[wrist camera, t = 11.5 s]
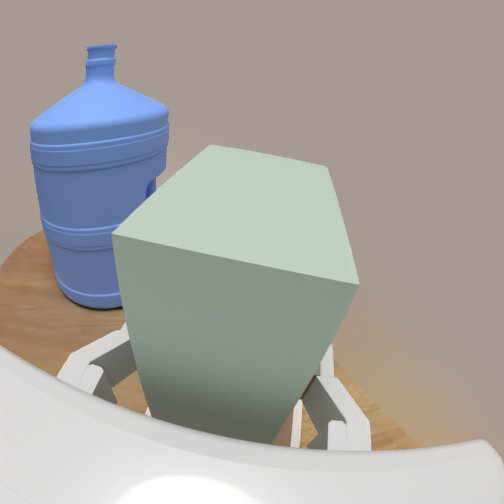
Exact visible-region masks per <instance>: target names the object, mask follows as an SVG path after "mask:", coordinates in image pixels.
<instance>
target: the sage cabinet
mask: <svg viewBox="0 0 504 504" xmlns="http://www.w3.org/2000/svg"><path fill="white" fill-rule="evenodd" d="M111 234H112V242H113V250H114V258H115V265H116V271H117V278H118V284H119V289H120V295H121V300H122V306H123V311H124V316H125V320H126V325H127V330H128V334H129V338H130V343H131V347H132V351H133V355H134V359H135V363H136V366H137V370H138V374H139V377H140V381H141V384H142V388H143V391H144V394H145V398H146V401H147V404H148V407H149V410H150V413H151V416H152V417H153V418H156V419H159V420H163V421H166V422H169V423H173V424H176V425H180V426H183V427H187V428H191V429H195V430H198V431H203V432H207V433H211V434H215V435H220V436H225V437H230V438H235V439H240V440H245V441H251V442H257V443H264V444H271V442H272V441H273V439H274V438H275V436H276V435H277V433H278V432H279V430H280V429H281V427H282V426H283V424H284V423H285V421H286V420H287V418H288V417H289V415H290V413H291V412H292V410H293V409H294V407H295V405H296V404H297V402H298V400H299V399H300V397H301V395H302V394H303V392H304V390H305V389H306V387H307V385H308V384H309V382H310V380H311V378H312V377H313V375H314V373H315V371H316V370H317V368H318V366H319V364H320V363H321V361H322V359H323V357H324V355H325V353H326V352H327V350H328V348H329V346H330V344H331V342H332V340H333V338H334V336H335V334H336V332H337V331H338V328H339V327H340V325H341V323H342V321H343V319H344V316H345V315H346V313H347V310H348V308H349V306H350V304H351V302H352V300H353V298H354V296H355V294H356V291H357V289H358V287H359V280H358V277H357V272H356V268H355V263H354V260H353V255H352V251H351V247H350V244H349V240H348V236H347V232H346V229H345V225H344V221H343V218H342V214H341V211H340V207H339V204H338V200H337V197H336V194H335V191H334V187H333V184H332V181H331V178H330V175H329V172H328V169H327V167H325V166H321V165H316V164H312V163H308V162H303V161H299V160H294V159H289V158H285V157H280V156H274V155H269V154H264V153H258V152H253V151H247V150H241V149H236V148H229V147H223V146H216V145H209V146H208V147H207V148H206V149H204V150H203V151H202V152H201V153H199V154H198V155H197V156H196V157H195V158H194V159H192V160H191V161H190V162H189V163H187V164H186V165H185V166H184V167H183V168H182V169H180V170H179V171H178V172H177V173H176V174H174V175H173V176H172V177H171V178H170V179H169V180H168V181H166V182H165V183H164V184H163V185H162V186H161V187H160V188H159V189H158V190H157V191H155V192H154V193H153V194H152V195H151V196H150V197H149V198H148V199H146V200H145V201H144V202H143V203H142V204H141V205H140V206H139V207H138V208H137V209H136V210H135V211H134V212H133V213H132V214H131V215H130V216H129V217H127V218H126V219H125V220H124V221H123V222H122V223H121V224H120V225H119V226H118V227H117V228H116V229H115V230H114V231H113V232H112V233H111Z"/></svg>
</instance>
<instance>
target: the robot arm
mask: <svg viewBox="0 0 504 504" xmlns="http://www.w3.org/2000/svg"><path fill="white" fill-rule="evenodd" d="M136 370H137V366H136V363H135V359H134V355H133V351H132V347H131V343H130V338H129V334H128V330H127V325H126V321H125V323H124V325H123V327H122V328H121V330H120V331H119V330H115V331H113V332H112V333H110V334H108V335H106V336H104V337H102V338H100V339H98V340H96V341H94V342H92V343H90V344H89V345H87V346H85V347H83V348H81V349H79V350H77V351H75V352H73V353H71V354H70V356H69V357H68V359H67V361H66V362H65V364H64V365H63V367H62V369H61V370H60V372H59V374H58V375H57V377H54V376H52V375H50V374H48V373H47V372H45V371H43V370H41V369H39V368H37V367H36V366H34V365H32V364H30V363H29V362H27V361H25V360H23V359H22V358H20V357H18V356H17V355H15V354H14V353H12V352H10V351H9V350H7V349H6V348H4V347H3V346H1V345H0V504H504V465H503V462H502V459H501V457H500V456H499V455H498V453H497V452H496V451H495V450H494V449H493V447H492V446H491V445H490V444H489V443H488V442H487V441H486V440H484V439H477V440H472V441H467V442H461V443H455V444H449V445H442V446H435V447H425V448H415V449H402V450H383V451H371V436H370V422H369V420H368V419H367V418H366V416H365V415H364V413H363V412H362V411H361V409H360V408H359V407H358V405H357V404H356V403H355V401H354V400H353V398H352V397H351V396H350V394H349V393H348V392H347V390H346V389H345V387H344V386H343V385H342V383H341V382H340V381H339V379H338V378H334V361H333V346H332V344H330V346H329V348H328V350H327V352H326V353H325V355H324V357H323V359H322V361H321V363H320V364H319V366H318V368H317V370H316V371H315V373H314V375H313V377H312V378H311V380H310V382H309V384H308V385H307V387H306V389H305V390H304V392H303V394H302V395H301V397H300V400H302V403H303V405H304V406H305V408H306V410H307V412H308V414H309V416H310V418H311V420H312V422H313V424H314V426H315V428H316V429H317V431H318V433H319V434H318V435H317V436H316V437H315V438H314V439H313V440H312V441H311V442H310V443H309V444H308V445H307V449H306V448H296V447H286V446H278V445H271V444H264V443H257V442H251V441H245V440H240V439H235V438H230V437H225V436H220V435H215V434H211V433H207V432H203V431H198V430H195V429H191V428H187V427H183V426H180V425H176V424H173V423H169V422H166V421H163V420H159V419H156V418H153V417H150V416H147V415H144V414H141V413H138V412H135V411H133V410H130V409H127V408H124V407H122V406H119V405H116V403H117V400H116V397H115V395H114V393H113V391H112V389H111V388H112V387H114V386H115V385H116V384H118V383H119V382H120V381H122V380H123V379H125V378H126V377H127V376H129V375H130V374H131V373H133V372H134V371H136Z"/></svg>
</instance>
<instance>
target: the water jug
mask: <svg viewBox="0 0 504 504" xmlns="http://www.w3.org/2000/svg"><path fill="white" fill-rule="evenodd" d="M116 48H117V45H114V44H108V45H96V46H90V47H87V51H88V60H87V61H86V78H85V81H84V83H83V85H82V86H81V87H80V88H78V89H77V90H75V91H74V92H72V93H70V94H69V95H68V96H66V97H65V98H63V99H62V100H60V101H59V102H57V103H56V104H55V105H53V106H52V107H50V108H49V109H48V110H46V111H45V112H44V113H42V114H41V115H40V116H39V117H37V118H36V119H35V120H34V121H33V122H32V123H31V126H30V136H31V139H30V152H31V159H32V164H33V167H34V175H35V181H36V188H37V194H38V200H39V205H40V215H41V216H40V217H41V221H42V226H43V230H44V233H45V235H46V238H47V242H48V246H49V250H50V254H51V257H52V261H53V264H54V271H55V275H56V278H57V281H58V284H59V286H60V288H61V290H62V291H63V293H64V294H65V295H66V296H67V297H68V298H70V299H71V300H73V301H74V302H76V303H78V304H81V305H83V306H87V307H91V308H101V309H107V308H116V307H121V306H122V300H121V295H120V289H119V284H118V278H117V271H116V265H115V258H114V250H113V242H112V234H111V233H112V232H113V231H114V230H115V229H116V228H117V227H118V226H119V225H120V224H121V223H122V222H123V221H124V220H125V219H126V218H127V217H129V216H130V215H131V214H132V213H133V212H134V211H135V210H136V209H137V208H138V207H139V206H140V205H141V204H142V203H143V202H144V201H145V200H146V199H148V198H149V197H150V196H151V195H152V194H153V193H154V192H155V191H156V177H157V176H158V175H160V174H161V173H162V172H163V171H164V170H165V168H166V152H167V145H168V138H169V123H168V114H169V112H168V108H167V107H166V106H165V105H164V104H161V103H159V102H157V101H155V100H153V99H151V98H149V97H147V96H145V95H143V94H141V93H139V92H136V91H134V90H132V89H130V88H128V87H125V86H123V85H121V84H119V83H117V82H116V81H115V79H114V65H115V61H116V60H115V58H114V54H115V49H116Z"/></svg>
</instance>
